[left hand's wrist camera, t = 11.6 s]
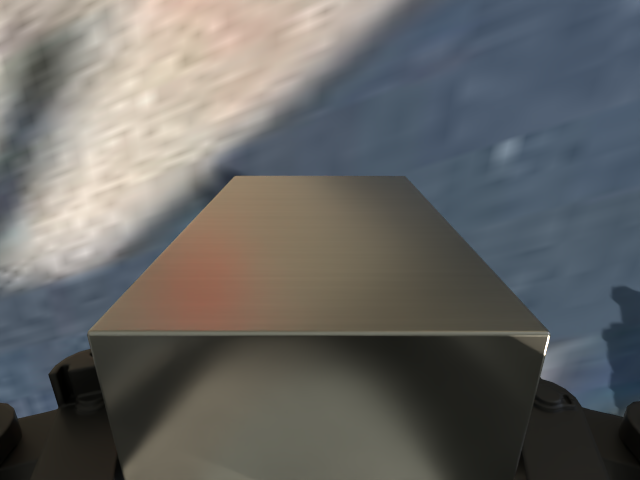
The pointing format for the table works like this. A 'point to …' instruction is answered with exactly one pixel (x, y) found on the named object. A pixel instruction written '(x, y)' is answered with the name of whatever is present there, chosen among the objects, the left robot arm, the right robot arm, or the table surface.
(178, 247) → the bar
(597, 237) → the table surface
